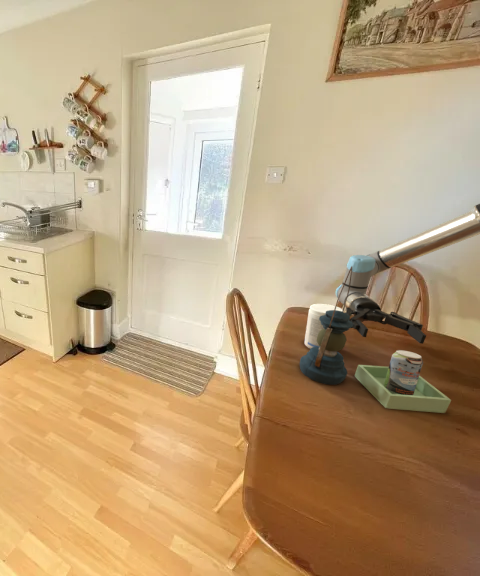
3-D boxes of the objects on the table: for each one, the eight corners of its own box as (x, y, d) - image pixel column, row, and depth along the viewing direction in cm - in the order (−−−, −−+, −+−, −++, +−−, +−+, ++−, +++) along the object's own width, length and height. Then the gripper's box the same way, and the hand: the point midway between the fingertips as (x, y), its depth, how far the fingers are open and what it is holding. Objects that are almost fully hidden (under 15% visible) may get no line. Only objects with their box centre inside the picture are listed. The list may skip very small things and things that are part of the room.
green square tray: (404, 380, 93) (409, 367, 91) (444, 414, 80) (451, 400, 79) (353, 377, 95) (358, 364, 93) (385, 409, 82) (390, 395, 81)
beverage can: (390, 398, 85) (405, 360, 80) (375, 381, 91) (388, 345, 87) (418, 401, 83) (435, 363, 79) (401, 384, 90) (415, 348, 86)
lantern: (336, 394, 88) (373, 277, 75) (290, 374, 97) (317, 267, 84) (350, 373, 96) (386, 265, 84) (307, 357, 105) (334, 257, 92)
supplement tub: (343, 353, 105) (351, 313, 101) (314, 354, 106) (321, 314, 101) (325, 339, 114) (331, 302, 110) (298, 340, 115) (303, 303, 110)
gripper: (403, 320, 107) (443, 353, 89) (318, 312, 115) (339, 341, 96) (410, 301, 105) (454, 330, 86) (323, 293, 112) (346, 319, 94)
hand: (393, 336), depth 91 cm, fingers open, 13 cm apart
